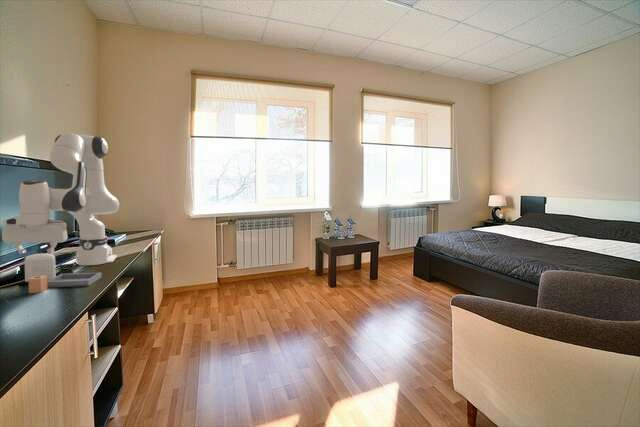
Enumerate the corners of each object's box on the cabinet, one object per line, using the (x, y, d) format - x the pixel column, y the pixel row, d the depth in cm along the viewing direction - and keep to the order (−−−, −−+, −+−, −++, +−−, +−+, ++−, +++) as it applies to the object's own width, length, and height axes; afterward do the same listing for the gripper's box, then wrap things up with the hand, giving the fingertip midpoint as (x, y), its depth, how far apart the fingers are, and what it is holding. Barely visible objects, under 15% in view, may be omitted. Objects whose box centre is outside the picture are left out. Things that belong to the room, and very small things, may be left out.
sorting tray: (61, 279, 133) (61, 273, 133) (101, 277, 138) (101, 272, 137) (44, 287, 122) (44, 282, 122) (88, 285, 126) (88, 280, 126)
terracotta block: (35, 289, 119) (35, 275, 119) (47, 289, 120) (46, 275, 120) (29, 293, 115) (28, 278, 115) (41, 292, 117) (40, 278, 116)
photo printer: (56, 277, 136) (55, 251, 135) (54, 279, 132) (53, 253, 131) (26, 280, 130) (25, 253, 129) (23, 282, 126) (22, 255, 125)
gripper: (70, 219, 121) (71, 251, 122) (10, 218, 116) (11, 251, 117) (61, 221, 115) (62, 254, 116) (-3, 220, 110) (-1, 255, 111)
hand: (36, 253), depth 116 cm, fingers open, 8 cm apart
